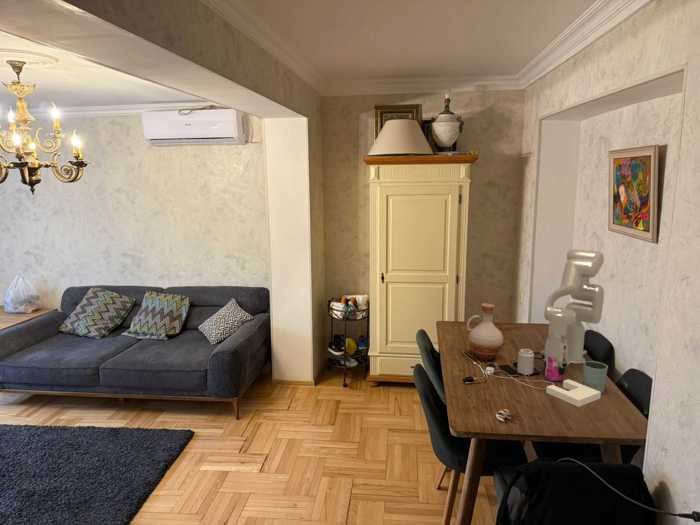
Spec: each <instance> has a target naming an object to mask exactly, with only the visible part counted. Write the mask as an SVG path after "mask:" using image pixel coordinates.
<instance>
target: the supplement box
mask: <svg viewBox="0 0 700 525" xmlns="http://www.w3.org/2000/svg"><path fill="white" fill-rule="evenodd" d="M562 364H563V362H562ZM559 367H560V364H559V362H557V361H556V359H554V358H551V357H548V358H547V359H546V370H545V374H544V375H545V376H544V377H545V378H546V379H547V380H549V381H550V382H563V375H559Z"/></svg>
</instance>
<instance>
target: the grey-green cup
mask: <svg viewBox="0 0 700 525" xmlns="http://www.w3.org/2000/svg"><path fill="white" fill-rule="evenodd" d="M582 364H583V365H582V366H583V385H585V386H587V387H590V388H592V389H595V390H597V391H600V392H601V394H603V393H604V392H605V387H606V379H607V374H608V369H609V366H608V365H607V364H605V363H603V362H601V361H595V360H587V361H586V360H585V362H584V363H582Z"/></svg>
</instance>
